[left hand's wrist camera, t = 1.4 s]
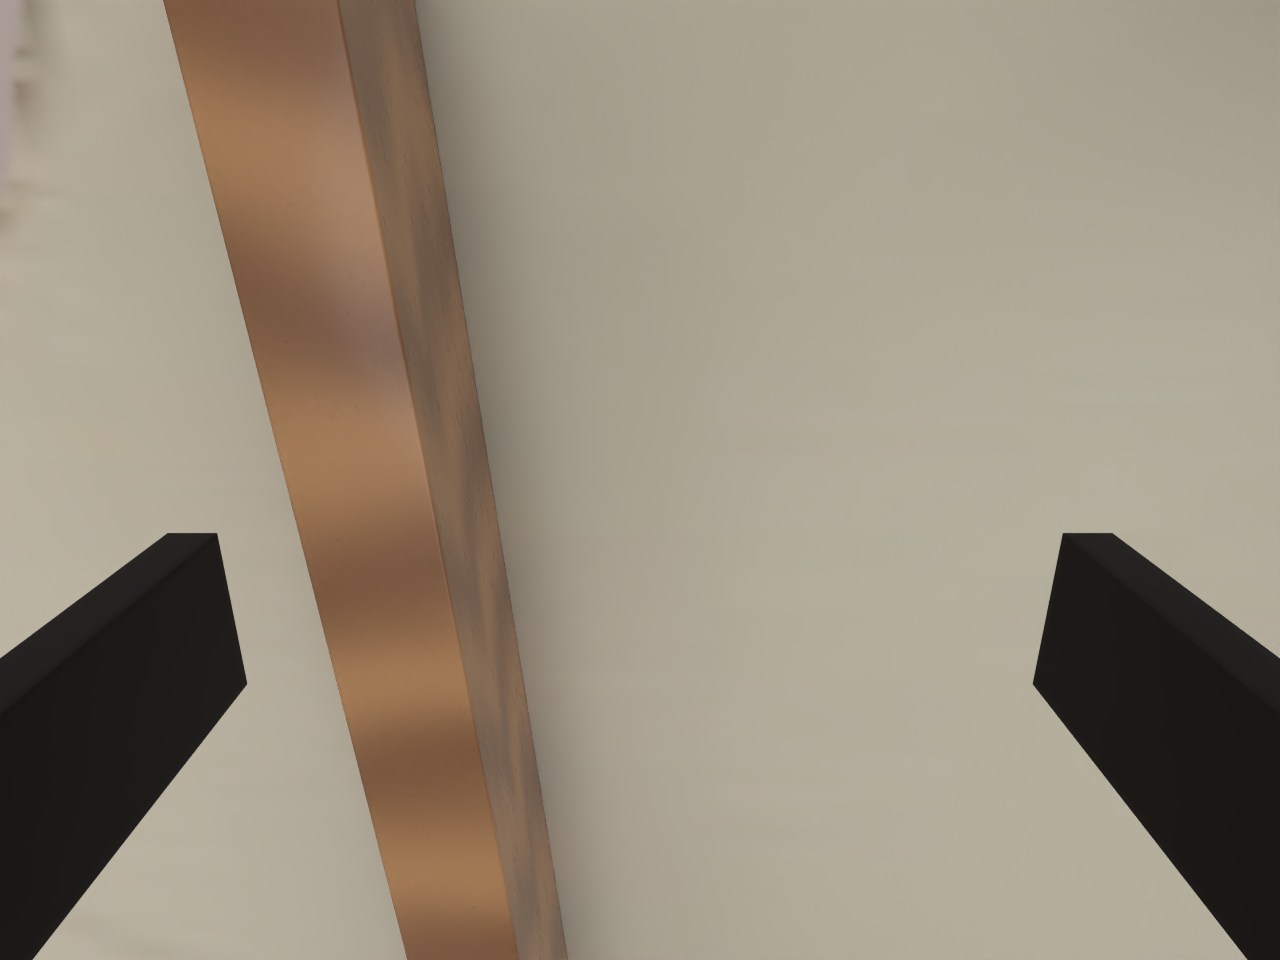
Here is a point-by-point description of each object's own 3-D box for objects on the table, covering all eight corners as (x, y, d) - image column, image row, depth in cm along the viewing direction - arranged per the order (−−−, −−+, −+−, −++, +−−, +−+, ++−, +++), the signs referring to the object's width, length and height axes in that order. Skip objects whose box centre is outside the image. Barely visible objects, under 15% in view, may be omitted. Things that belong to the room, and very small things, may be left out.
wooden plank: (266, -91, 26) (109, -207, 19) (398, -104, 26) (295, -226, 18) (547, 1257, 52) (531, 1449, 44) (615, 1253, 52) (611, 1446, 44)
